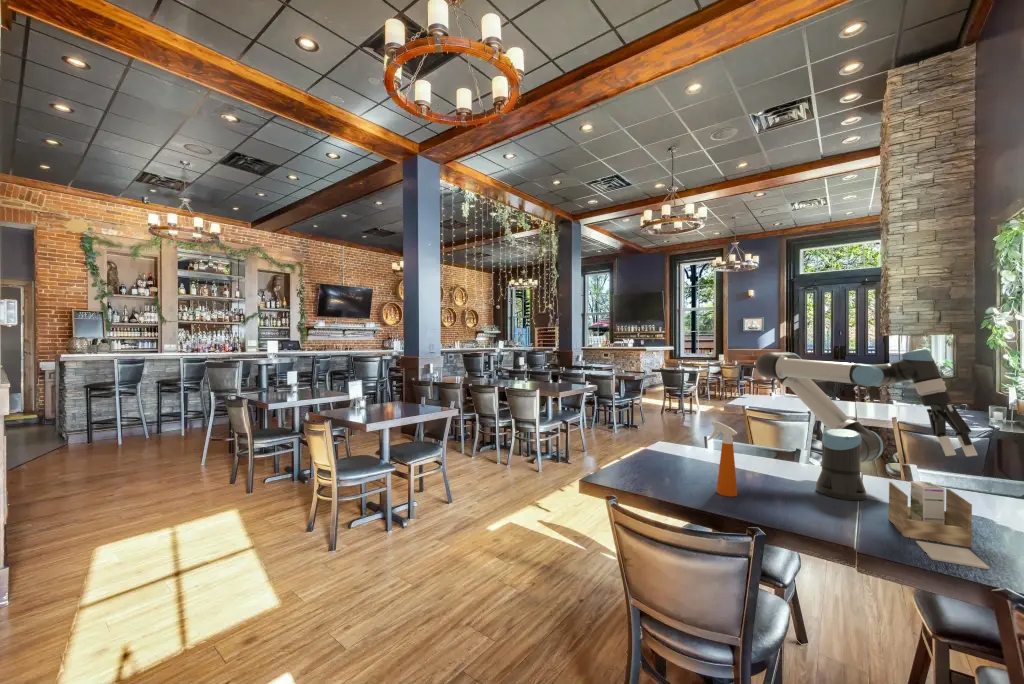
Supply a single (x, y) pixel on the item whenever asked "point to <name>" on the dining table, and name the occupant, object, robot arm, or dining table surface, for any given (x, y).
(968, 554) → the mat
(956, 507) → the wooden holder
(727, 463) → the spray bottle
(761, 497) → the dining table surface
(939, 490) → the syrup box
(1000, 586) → the dining table surface
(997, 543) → the dining table surface
